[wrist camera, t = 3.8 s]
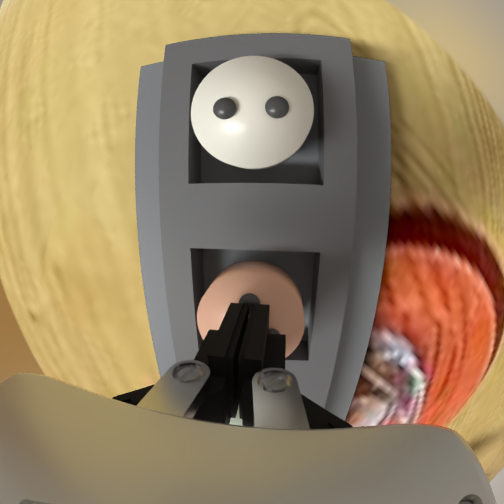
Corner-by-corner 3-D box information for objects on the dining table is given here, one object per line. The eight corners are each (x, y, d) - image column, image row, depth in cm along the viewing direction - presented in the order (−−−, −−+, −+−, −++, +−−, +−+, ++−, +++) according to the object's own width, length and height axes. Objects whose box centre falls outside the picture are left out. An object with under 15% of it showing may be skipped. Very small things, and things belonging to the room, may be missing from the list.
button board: (151, 73, 14) (124, 55, 10) (377, 70, 12) (397, 48, 9) (178, 414, 21) (166, 442, 17) (336, 426, 19) (340, 456, 16)
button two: (206, 76, 11) (192, 59, 9) (307, 73, 10) (312, 55, 8) (204, 170, 12) (188, 169, 10) (309, 171, 12) (314, 169, 10)
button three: (205, 257, 13) (192, 272, 11) (305, 261, 13) (309, 277, 11) (210, 340, 15) (200, 363, 12) (298, 346, 14) (299, 371, 12)
